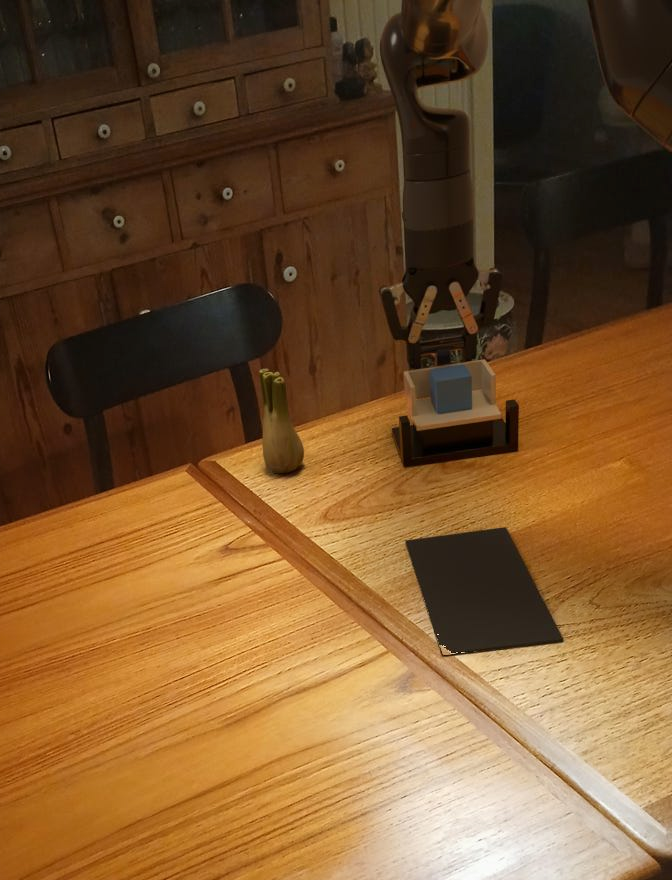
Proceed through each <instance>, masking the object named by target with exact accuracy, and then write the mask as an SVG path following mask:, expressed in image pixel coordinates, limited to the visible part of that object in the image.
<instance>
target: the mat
mask: <svg viewBox="0 0 672 880" xmlns="http://www.w3.org/2000/svg"><path fill="white" fill-rule="evenodd" d="M404 542H405V546H406V549H407V553H408V552H409V553H408V555H409V559H410V558H411V559H410V562H411V561H412V562H411V565H412V568H413V567H414V568H413V571H414V570H415V571H414V574H415V573H416V574H415V577H416V576H417V577H416V580H417V579H418V580H417V583H418V582H419V583H418V586H419V585H420V586H419V589H420V588H421V590H420V592H421V591H422V593H421V595H422V594H423V596H422V598H423V597H424V599H423V601H424V600H425V602H424V604H425V603H426V605H425V608H426V607H427V608H426V610H427V609H428V611H427V613H428V612H429V614H428V617H429V616H430V617H429V619H431V620H430V623H431V622H432V623H431V626H432V625H433V627H432V629H433V628H434V630H433V632H434V631H435V633H434V635H435V634H436V636H435V638H436V637H437V639H438V642H439V645H442V646H443V645H444V646H446V647H444V648H446V649H447V650H449V651H451V653H456V652H458V653H461V652H465V654H467V653H466V652H473V653H475V652H474V651H481V652H487V651H486V650H490V651H495V650H494V649H498V650H502V649H501V648H506V649H513V648H512V647H514V648H521V647H523V648H524V647H529V646H538V645H546V644H547V643H548V644H555V643H563V642H564V637H563V635H562V633H561V631H560V629H559V627H558V626H557V623H556V621H555V620H554V618H553V616H552V614H551V612H550V610H549V608H548V606H547V604H546V602H545V600H544V598H543V596H542V594H541V593H540V591H539V589H538V586H537V585H536V582H535V581H534V579H533V577H532V574H531V573H530V571H529V569H528V567H527V565H526V563H525V562H524V559H523V557H522V556H521V553H520V552H519V550H518V548H517V545H516V544H515V542H514V540H513V538H512V536H511V534H510V532H509V531H508V528H507V527H506V526H502V527H496V528H488V529H480V530H473V531H464V532H458V533H451V534H449V533H448V534H443V535H435V536H427V537H420V538H413V539H406V540H404ZM437 634H439V635H437ZM437 639H436V640H437ZM562 641H563V642H562ZM438 642H437V643H438ZM548 644H547V645H548ZM439 645H438V646H439ZM483 650H484V651H483Z"/></svg>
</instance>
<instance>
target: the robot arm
mask: <svg viewBox="0 0 672 880" xmlns="http://www.w3.org/2000/svg"><path fill="white" fill-rule="evenodd" d="M482 2H483V0H401V6H400V7H401V8H400V11H399V12H397V13H395V14H393V15H392V16H391V17H390V18H389V19H388V20H387V21H386V23H385V25H384V27H383V30H382V32H381V36H380V41H379V55H380V60H381V65H382V66H381V67H382V69H383V73H384V74H385V78H386V80H387V84H388V88H389V91H390V93H391V96H392V99H393V103H394V105H395V110H396V113H397V114H396V115H397V117H398V118H397V119H398V123H399V128H400V134H401V147H402V148H401V150H402V166H403V167H402V168H403V169H402V171H403V188H402V189H403V190H402V212H401V219H402V222H403V242H404V243H403V245H404V265H405V266H404V267H405V269H404V274H403V277H402V279H401V282H398V283H395V284H393V285H389V286H388V285H387V284H384V285H381V286H380V287H379V289H378V294H379V297H380V300H381V304H382V307H383V312H384V315H385V319H386V322H387V326H388V329H389V332H390V334H391V336H392V338H393V340H395V341H403V342H405V346H406V348H405V349H406V362H407V364H408V366H409V368H410V369H411V370H418V369H422V356H421V346H420V342H421V340H420V336H421V333H422V332H423V331H422V330H423V327H424V326H425V325H426V322H427V319H428V316H429V315H433V314H436V313H439V312H442V311H447V312H451V311H456V312H457V314H458V316H459V319H460V320H461V322H462V325H463V329H461V335H463V336H464V340H465V348H464V349H461V361H462V363H463V362H470V361H473V360H476V358H477V356H478V336H477V335H478V332H479V331H480V330H481V329H483V328H485V327H490V326H492V325H493V324H494V322H495V316H496V312H497V307H498V302H499V299H500V293H501V289H502V285H503V279H504V277H503V274H502V273H501V272H500V270H499V269H497V268H496V267H491V268H489V269H478V267H477V266H476V263H475V250H474V249H475V241H474V239H475V237H474V235H475V234H474V232H475V230H474V229H475V227H474V224H475V223H474V219H475V217H474V187H473V180H472V170H471V122H470V118H469V115H468V113H466V112H465V111H464V110H461V109H457V108H447V107H434V106H429V105H427V104H425V103H424V102H423V101H422V100H421V99H420V96H419V93H418V90H419V89H422V88H423V89H424V88H430V87H434V86H440V85H441V86H442V85H447V84H452V83H458V82H459V83H460V82H463V81H465V80H468V79H471V78H472V77H474V76H475V75H476V74H477V73H478V72H479V71H480V70H481V69H482V67H483V65H484V63H485V60H486V58H487V54H488V50H489V49H488V48H489V30H488V24H487V20H486V15H485V13H484V10H483V9H482ZM586 5H587V11H588V15H589V20H590V26H591V31H592V36H593V37H592V38H593V42H594V47H595V52H596V56H597V59H598V60H597V61H598V63H599V68H600V72H601V75H602V78H603V82H604V84H605V87H606V89H607V92H608V94H609V96H610V97H611V99H612V101H613V103H614V104H615V105H616V106H617V107H618V108H619V110H621V112H623V113H624V114H625V115H626V116H627V117H628V118H630V119H631V120H632V121H633V122H634V123H635V124H636V125H637V126H638V127H640V128H641V129H642V130H643V131H644V132H645V133H646V134H648V135H649V136H650V137H651V138H652V139H654V140H655V141H656V142H657V143H658V144H659V145H660V146H662V147H663V148H664V149H665V150H667V151H668V152H670V154H672V0H586ZM477 281H479V286H480V288H481V289H482V290H483V292H482V297H481V302H480V306H479V312H478V313H477V314H475V315H474V314H473V311H472V310H471V307H470V305H469V302H468V300H467V297H468V295H469V293H471V291H472V289H473V287H474V286H475V284H476V282H477ZM403 293H405V294H406V295H407V296H408V297H409V298H410V300H412V302H413V304H412V306H411V310H410V314H409V319H408V321H407V325H406V326H404V325H401V320H400V317H399V314H398V310H397V307H396V306H398V305H399V304H400V303H401V296H402V294H403Z"/></svg>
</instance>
